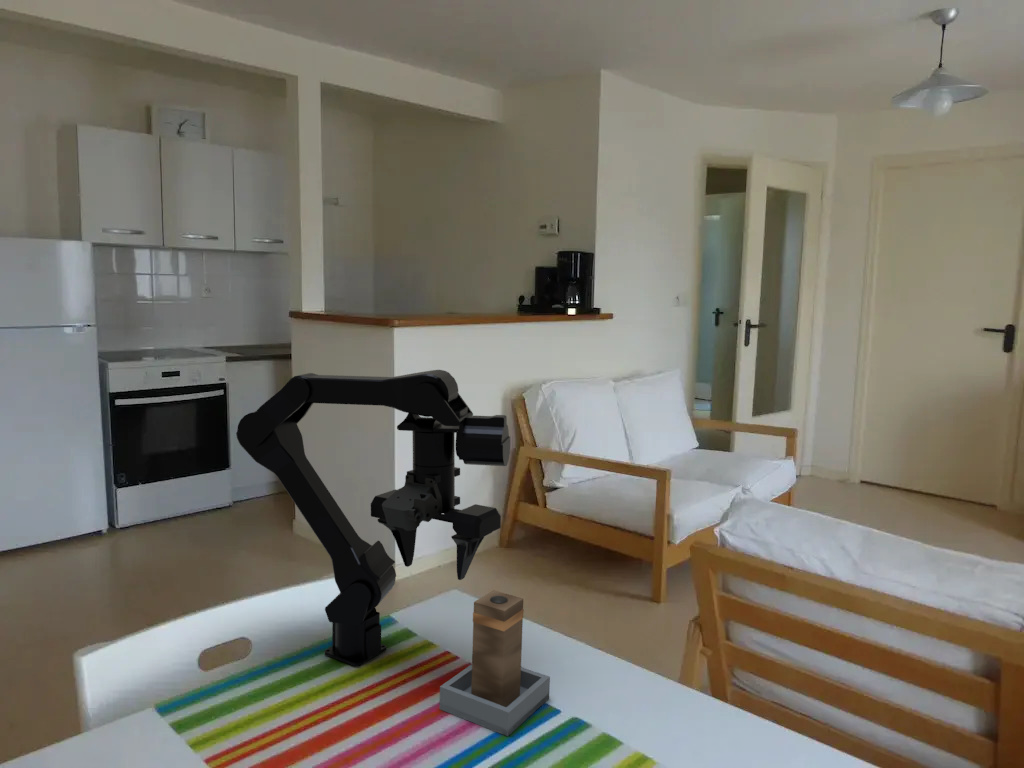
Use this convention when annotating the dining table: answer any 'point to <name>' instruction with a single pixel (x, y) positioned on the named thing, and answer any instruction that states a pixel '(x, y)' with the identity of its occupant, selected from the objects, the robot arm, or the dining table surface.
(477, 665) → the block
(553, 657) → the dining table surface
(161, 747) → the dining table surface
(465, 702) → the tray
